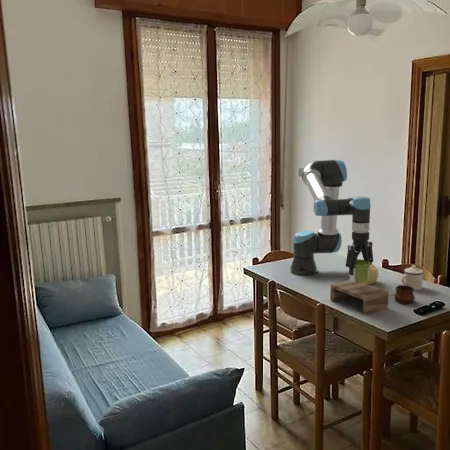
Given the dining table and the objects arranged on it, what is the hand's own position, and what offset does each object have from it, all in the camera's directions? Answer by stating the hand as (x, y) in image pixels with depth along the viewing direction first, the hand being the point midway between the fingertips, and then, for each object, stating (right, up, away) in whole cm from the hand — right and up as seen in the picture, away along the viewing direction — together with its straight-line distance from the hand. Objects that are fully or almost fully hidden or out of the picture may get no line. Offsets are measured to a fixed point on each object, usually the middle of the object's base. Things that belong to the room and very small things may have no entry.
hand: (359, 279), depth 208 cm
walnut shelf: (0, -12, +2) cm, 12 cm away
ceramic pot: (+23, -11, +5) cm, 26 cm away
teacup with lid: (+33, -7, +22) cm, 40 cm away
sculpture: (+13, -6, +32) cm, 35 cm away
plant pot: (0, 0, 0) cm, 0 cm away
